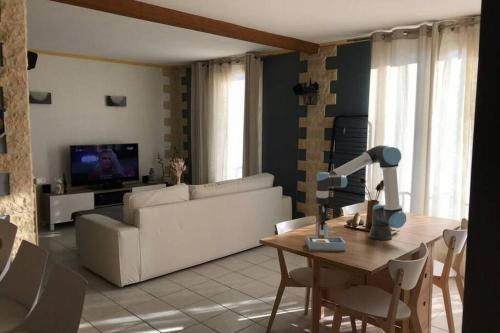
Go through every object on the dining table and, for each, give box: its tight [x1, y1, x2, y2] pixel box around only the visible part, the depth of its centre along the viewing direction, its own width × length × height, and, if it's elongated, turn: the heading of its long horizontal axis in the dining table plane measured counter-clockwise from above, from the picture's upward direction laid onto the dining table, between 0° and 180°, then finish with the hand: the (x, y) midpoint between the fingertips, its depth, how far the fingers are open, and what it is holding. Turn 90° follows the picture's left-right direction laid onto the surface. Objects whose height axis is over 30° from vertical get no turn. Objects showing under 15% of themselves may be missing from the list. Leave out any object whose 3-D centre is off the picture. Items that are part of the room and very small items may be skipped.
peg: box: [317, 215, 325, 239], centre depth 251 cm, size 4×4×14 cm
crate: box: [306, 236, 347, 252], centre depth 252 cm, size 22×14×5 cm, turn 89°
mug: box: [314, 222, 332, 237], centre depth 272 cm, size 12×8×11 cm
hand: (321, 233), depth 251 cm, fingers closed on peg, 4 cm apart
